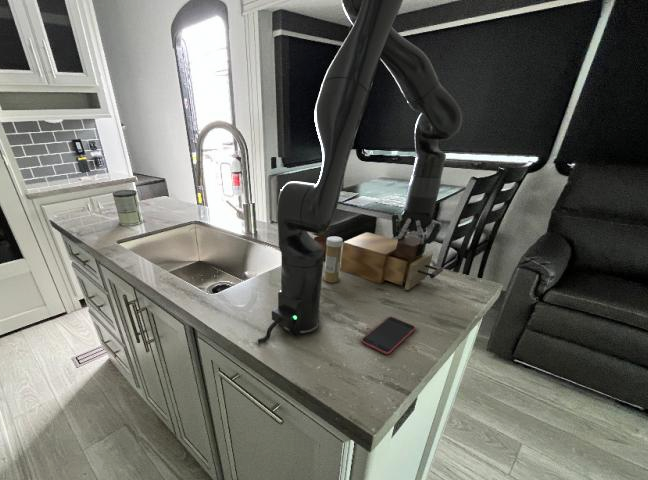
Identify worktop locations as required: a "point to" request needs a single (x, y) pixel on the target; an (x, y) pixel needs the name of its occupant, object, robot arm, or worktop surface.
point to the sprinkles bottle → (333, 258)
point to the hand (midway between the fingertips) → (409, 252)
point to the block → (407, 247)
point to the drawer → (408, 269)
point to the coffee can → (128, 207)
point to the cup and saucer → (322, 243)
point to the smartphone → (388, 335)
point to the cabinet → (367, 255)
